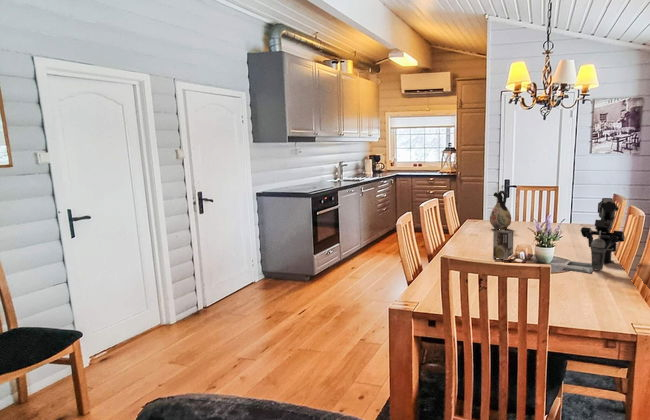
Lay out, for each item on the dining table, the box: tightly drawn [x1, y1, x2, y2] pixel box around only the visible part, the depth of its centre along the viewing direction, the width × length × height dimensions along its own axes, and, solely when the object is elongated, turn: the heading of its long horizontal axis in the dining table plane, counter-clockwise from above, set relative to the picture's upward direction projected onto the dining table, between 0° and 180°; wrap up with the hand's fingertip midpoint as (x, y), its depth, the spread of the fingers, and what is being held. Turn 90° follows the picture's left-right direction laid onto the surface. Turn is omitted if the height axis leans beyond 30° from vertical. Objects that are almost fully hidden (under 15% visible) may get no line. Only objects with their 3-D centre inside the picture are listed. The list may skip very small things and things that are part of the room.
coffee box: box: [492, 230, 514, 259], centre depth 254 cm, size 9×6×16 cm
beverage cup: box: [589, 231, 607, 271], centre depth 225 cm, size 7×7×20 cm
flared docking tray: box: [562, 260, 592, 274], centre depth 232 cm, size 13×15×2 cm
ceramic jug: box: [489, 190, 512, 231], centre depth 336 cm, size 17×15×30 cm
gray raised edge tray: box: [562, 264, 595, 274], centre depth 232 cm, size 13×14×1 cm
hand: (597, 247), depth 224 cm, fingers closed on beverage cup, 7 cm apart
